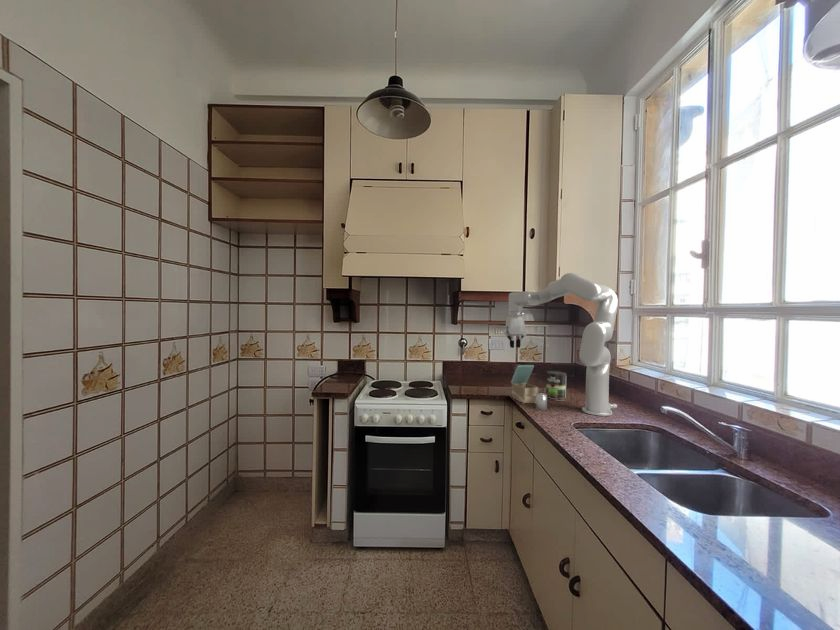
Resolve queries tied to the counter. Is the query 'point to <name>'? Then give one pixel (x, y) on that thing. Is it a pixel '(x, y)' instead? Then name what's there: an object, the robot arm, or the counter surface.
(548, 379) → the glass terrarium
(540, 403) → the steel weight
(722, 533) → the counter surface
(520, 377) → the lid
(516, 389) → the box
